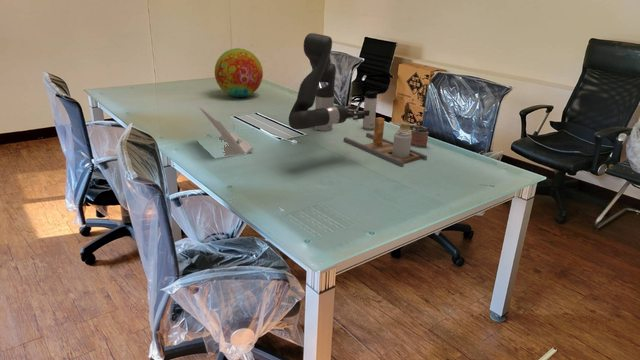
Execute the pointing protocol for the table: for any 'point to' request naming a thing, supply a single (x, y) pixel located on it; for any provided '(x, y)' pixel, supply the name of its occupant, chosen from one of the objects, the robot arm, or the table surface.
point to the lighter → (419, 136)
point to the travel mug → (370, 109)
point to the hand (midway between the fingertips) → (362, 110)
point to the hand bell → (405, 124)
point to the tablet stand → (228, 137)
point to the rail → (380, 154)
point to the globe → (238, 72)
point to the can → (402, 144)
